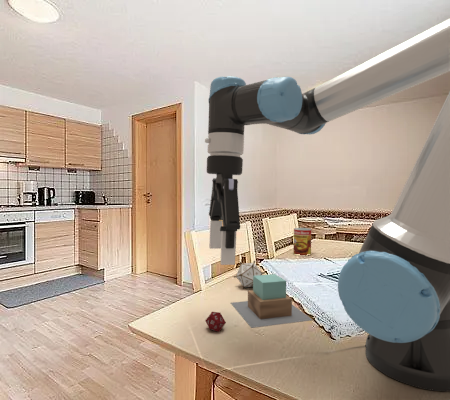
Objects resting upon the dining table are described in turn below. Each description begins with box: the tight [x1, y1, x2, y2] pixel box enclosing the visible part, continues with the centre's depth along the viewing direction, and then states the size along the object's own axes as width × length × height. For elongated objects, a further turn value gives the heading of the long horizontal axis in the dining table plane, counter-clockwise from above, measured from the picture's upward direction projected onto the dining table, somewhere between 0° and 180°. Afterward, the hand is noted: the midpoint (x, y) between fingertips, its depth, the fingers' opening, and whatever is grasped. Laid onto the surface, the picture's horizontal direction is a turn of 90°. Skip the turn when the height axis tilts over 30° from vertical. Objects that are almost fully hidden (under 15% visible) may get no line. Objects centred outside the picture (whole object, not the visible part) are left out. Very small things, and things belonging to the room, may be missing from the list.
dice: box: [204, 311, 226, 333], centre depth 65 cm, size 4×4×4 cm
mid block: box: [252, 273, 287, 300], centre depth 75 cm, size 6×6×4 cm
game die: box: [233, 260, 266, 290], centre depth 93 cm, size 9×8×10 cm
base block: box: [247, 289, 293, 319], centre depth 75 cm, size 8×8×4 cm
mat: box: [230, 300, 313, 329], centre depth 75 cm, size 15×15×1 cm
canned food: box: [293, 227, 312, 255], centre depth 142 cm, size 8×8×12 cm
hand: (220, 255), depth 66 cm, fingers open, 13 cm apart
